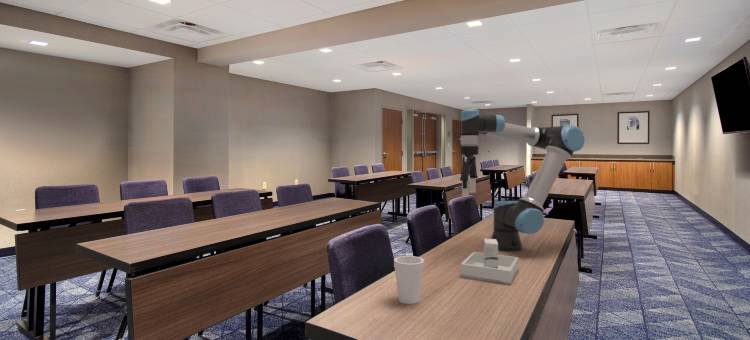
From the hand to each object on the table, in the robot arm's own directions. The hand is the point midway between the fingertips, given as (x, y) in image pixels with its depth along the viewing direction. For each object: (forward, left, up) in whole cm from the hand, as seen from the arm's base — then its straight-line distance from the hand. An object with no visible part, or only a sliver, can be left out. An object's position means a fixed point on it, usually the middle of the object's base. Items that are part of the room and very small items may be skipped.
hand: (468, 194), depth 171 cm
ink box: (+15, +13, -28) cm, 34 cm away
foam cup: (+56, -5, -29) cm, 63 cm away
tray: (+16, +13, -28) cm, 35 cm away
